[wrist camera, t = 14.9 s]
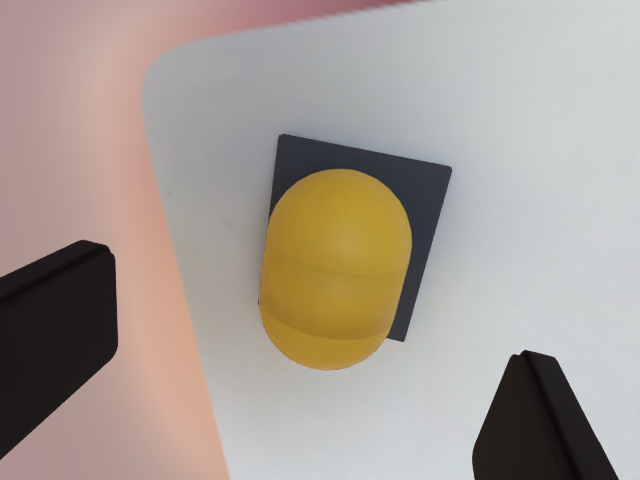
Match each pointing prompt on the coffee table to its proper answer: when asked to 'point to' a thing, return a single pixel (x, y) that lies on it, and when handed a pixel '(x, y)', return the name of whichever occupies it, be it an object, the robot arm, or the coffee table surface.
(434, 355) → the coffee table surface
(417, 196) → the mat
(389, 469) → the coffee table surface
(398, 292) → the yellow grooved capsule
